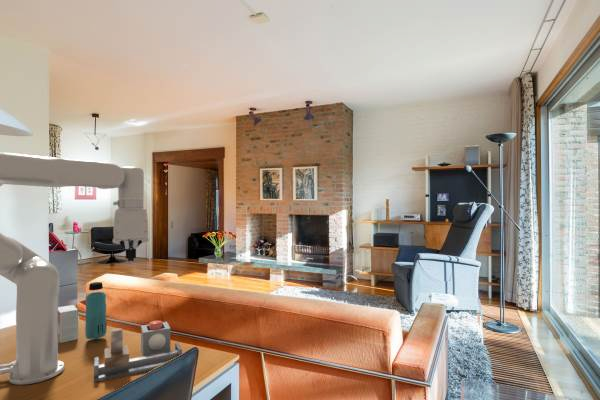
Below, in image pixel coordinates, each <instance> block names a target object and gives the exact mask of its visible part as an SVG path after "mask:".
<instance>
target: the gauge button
mask: <svg viewBox="0 0 600 400" xmlns="http://www.w3.org/2000/svg"><path fill="white" fill-rule="evenodd" d="M162 322H163V321H162V320H153V321H150V322H149V323H148V325H149V331H150V330H156V329H162Z"/></svg>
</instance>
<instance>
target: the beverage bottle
mask: <svg viewBox="0 0 600 400" xmlns="http://www.w3.org/2000/svg"><path fill="white" fill-rule="evenodd" d="M88 287H89V288H88V290H89V291H92V292H89V293H87V294H86V296H85V322H84V324H85V325H84V326H85V328H84V333H85V339H87V340H96V339H101V338H103V337H105V336H106V334H107V331H108V330H107V329H108V327H107V325H108V324H107V306H108V305H107V294H106V292H104V291H102V289H103V288H104V287H103V283H102V282H100V281H95V282H91V283H89V285H88ZM99 290H101V291H99Z"/></svg>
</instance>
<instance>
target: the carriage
mask: <svg viewBox="0 0 600 400" xmlns="http://www.w3.org/2000/svg"><path fill="white" fill-rule="evenodd" d="M123 332H124V331H123V328H121V327H119V328H113V329H111V330H110V347H108V348H107V347H106V348H104V364H105V369H109V368H114V367H119V366H124V365H129V359H130V352H129V346H128V345H129V344H126V345H125V344H124V345H123V342H124V341H123V339H124V337H123V336H124V335H123V334H124V333H123Z"/></svg>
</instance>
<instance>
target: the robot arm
mask: <svg viewBox="0 0 600 400" xmlns="http://www.w3.org/2000/svg"><path fill="white" fill-rule="evenodd" d="M144 176H145V173H144V170H143V168H141V167H137V166H122V167H120V166H119V165H117V164H114V163H110V162H100V161H92V160H80V159H71V158H70V159H69V158H61V157H51V156H41V155H32V154H24V153H14V152H4V151H0V187H1V186H3V185H11V186H12V185H14V186H28V187H30V186H31V187H46V188H47V187H48V188H63V187H64V188H65V187H84V188H87V187H89V188H97V189H100V190H109V189H110V190H111V189H118V190H117V192H118V195H117V196H118V200H115V201H114V200H113V201H112V202H113V203H112V205H113V206H116V207H117V208H116V209H115V211H114V218H113V238H112V243H113V244H116V245H121V246H122V247H123V248H124V249H125V259H127V261H128V262H134V259H136V258H137V248H139V246H140V245H141V244H144V243H147V242H149V218H148V213H147V209H146V208H145V205H144V204H145V203H144V201H145V200H144V198H145V196H144V192H145V191H144V188H145V186H144V185H145V183H144V182H145V181H144V178H145V177H144ZM130 240H131V241H132V240H133V241H132V246H131V247H130V244H129V243H130V242H129V241H130ZM0 276H1V277H3V278H4V279H7V280H8V281H10V282H12V284H13V283H14V284H15V285H16V303H15V304H16V305H15V323H16V324H15V325H16V326H15V360H13V361H11V362H10V363H6V364H5V363H3V364H0V375H5V374H8V382H9V383H10V384H13V385H30V384H31V385H32V384H37V383H40V382H43V381H46V380H49V379H51V378H54V377H56V376H57V375H59V374H61V373H62V372H63V371H64V369H65V363H64V361H62V360H60V359H59V341H58V307H59V298H60V297H59V296H60V286H61V276H60V272H59V270H58V269H57V267H56V266H55V265H53V264H52V263H51V262H50V261H48V260H47V259H45V258H43V257H42V256H41V255H39V254H38V253H36V252H34V251H33V250H32V249H30V248H29V247H27V246H25V245H24V244H23V243H20V241H18V240H17V239H15V238H13V237H11V236H9V235H6V234H5V235H4V234H2V233H1V232H0Z"/></svg>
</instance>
